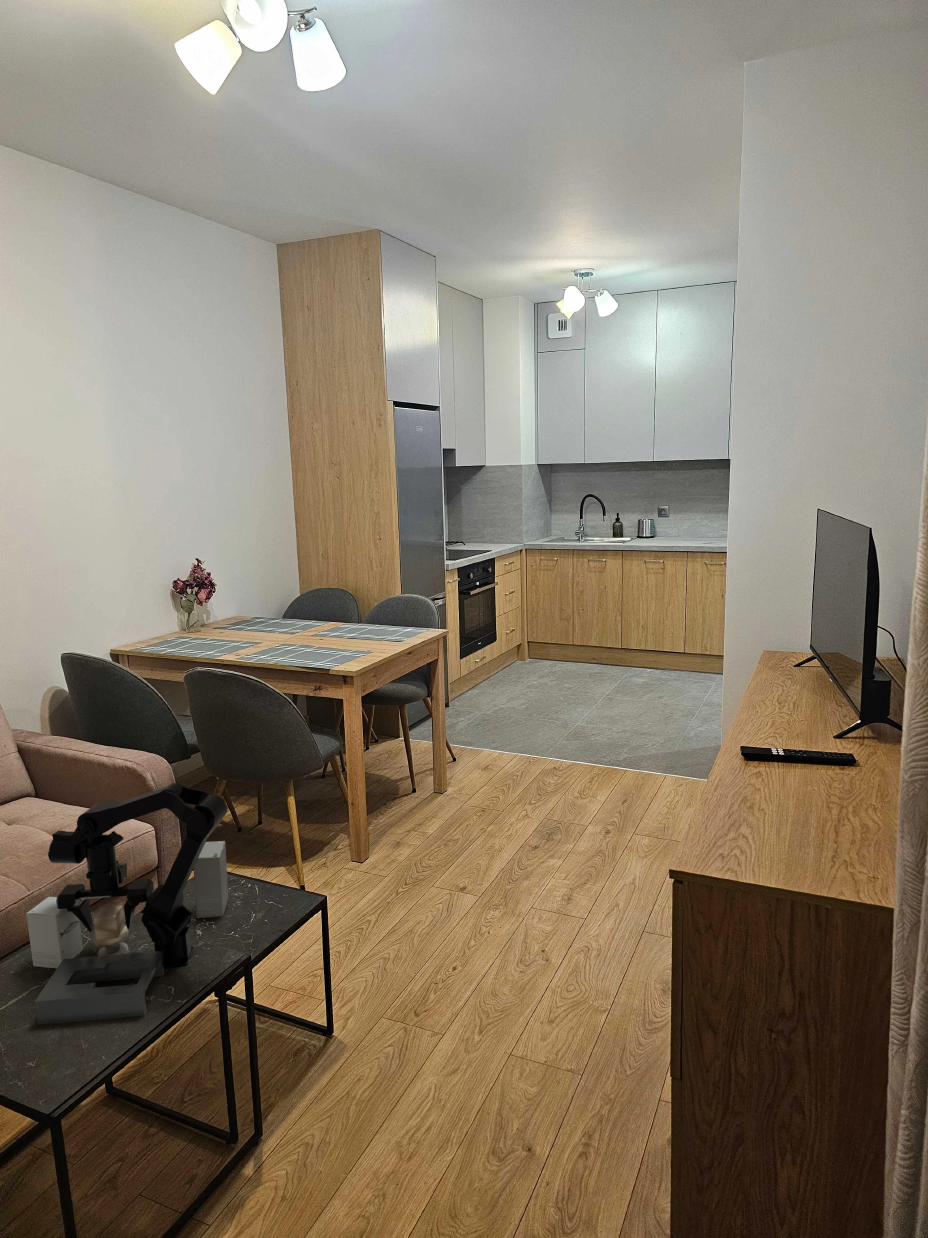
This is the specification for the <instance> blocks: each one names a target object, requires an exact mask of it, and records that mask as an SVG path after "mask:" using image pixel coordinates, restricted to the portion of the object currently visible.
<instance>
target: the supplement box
mask: <svg viewBox="0 0 928 1238" xmlns="http://www.w3.org/2000/svg"><path fill="white" fill-rule="evenodd" d="M56 899H57V896H47V897H46V898H45V899H43V900H42V901H41V902H40V903H38V904H37V905H35V906H34V907H33V908H32V909H30V910H29V911H28V912H26V913H25V916H26V924H27V930H28V935H29V943H30V944H29V945H30V949H31V950H30V952H31V958H32V964H33V965H32V966H33V967H38V968H48V969H49V968H50V969H57V968H58V966H59V965H60V963H61V962H62V961H63V959H71V958H76V956H78V955H79V954H80V953H81V952H82V951H84V945H83V938H82V930H81V923H80V922H81V921H80V920H79V919H78V918H77V917H76V916H75V915H74V914H73V913H72V912H68V911H67V909H58V908H57V903H56Z"/></svg>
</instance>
